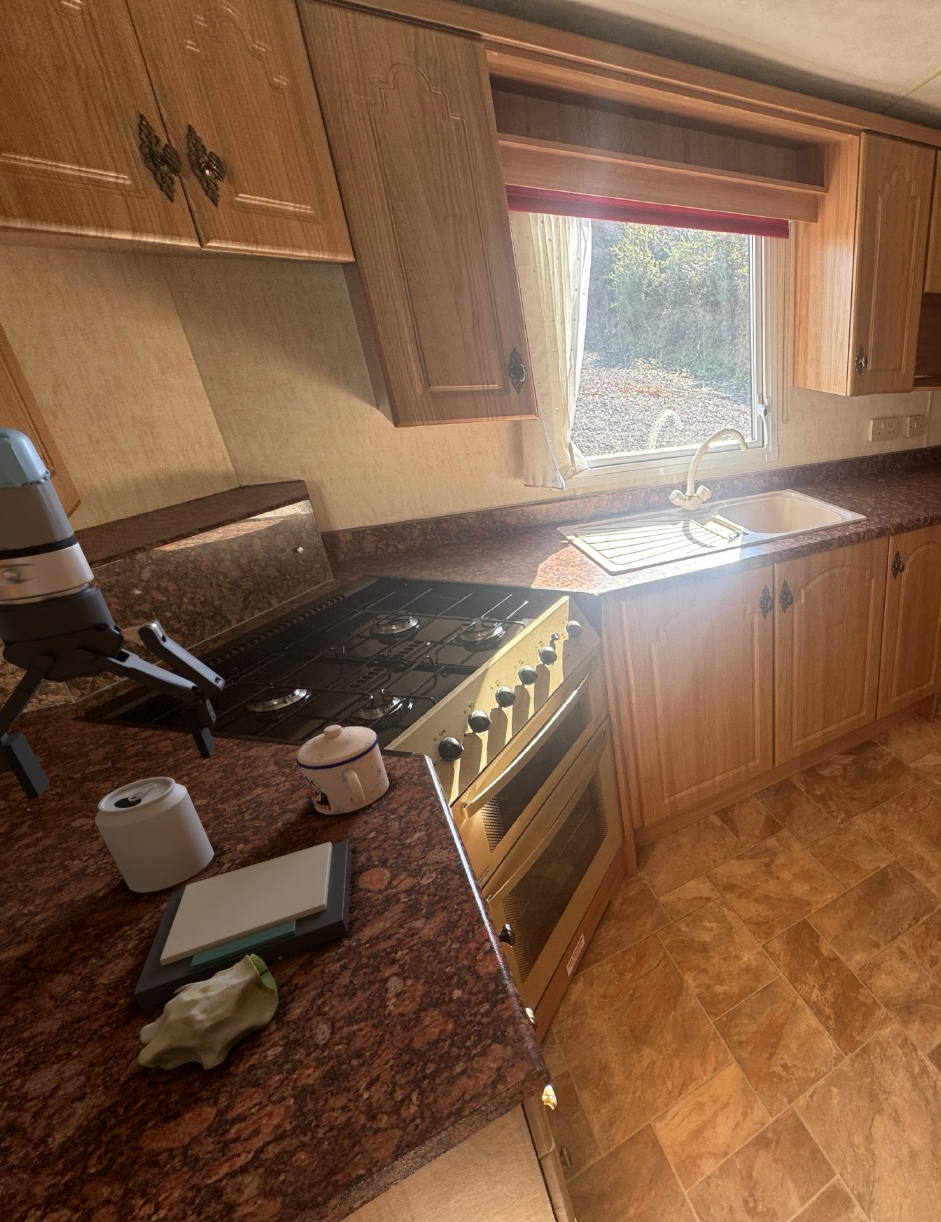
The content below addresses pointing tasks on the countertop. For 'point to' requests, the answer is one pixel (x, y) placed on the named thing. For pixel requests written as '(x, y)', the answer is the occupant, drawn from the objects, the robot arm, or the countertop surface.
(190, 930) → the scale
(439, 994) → the countertop surface
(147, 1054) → the fruit
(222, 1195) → the countertop surface
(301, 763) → the teacup with lid
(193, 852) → the can
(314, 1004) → the countertop surface
